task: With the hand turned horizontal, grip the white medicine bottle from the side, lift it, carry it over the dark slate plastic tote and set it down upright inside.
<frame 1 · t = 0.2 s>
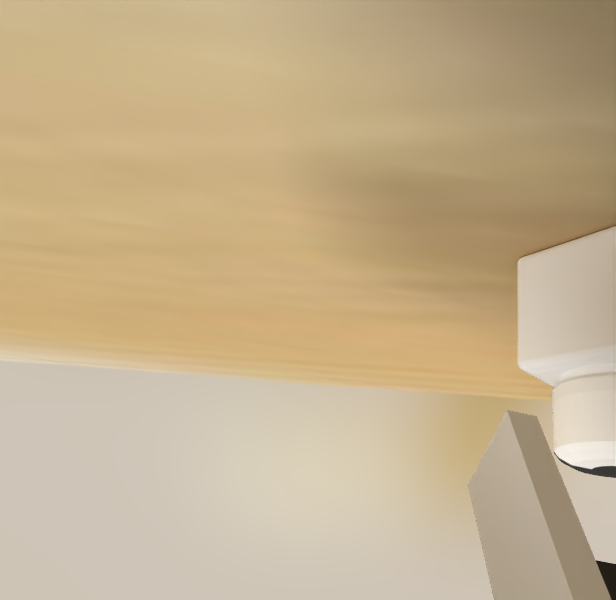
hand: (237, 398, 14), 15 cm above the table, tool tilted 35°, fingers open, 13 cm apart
medicine bottle: (604, 260, 34), on the table
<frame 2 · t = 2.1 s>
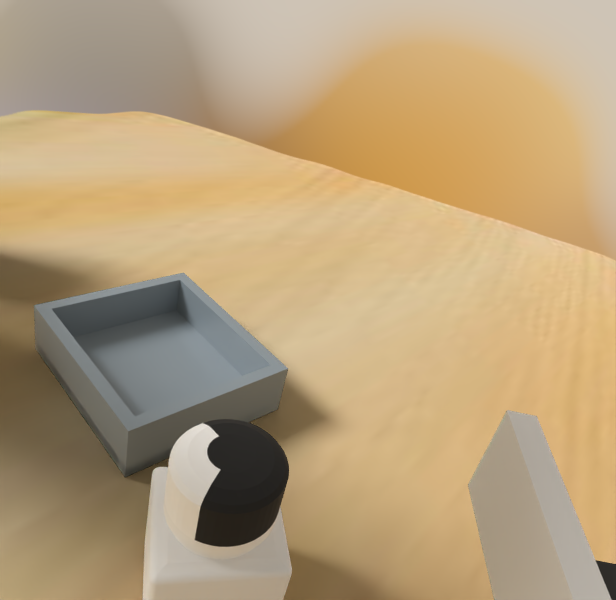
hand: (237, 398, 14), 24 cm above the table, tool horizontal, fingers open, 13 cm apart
medicine bottle: (203, 592, 35), on the table
tote: (156, 379, 50), on the table
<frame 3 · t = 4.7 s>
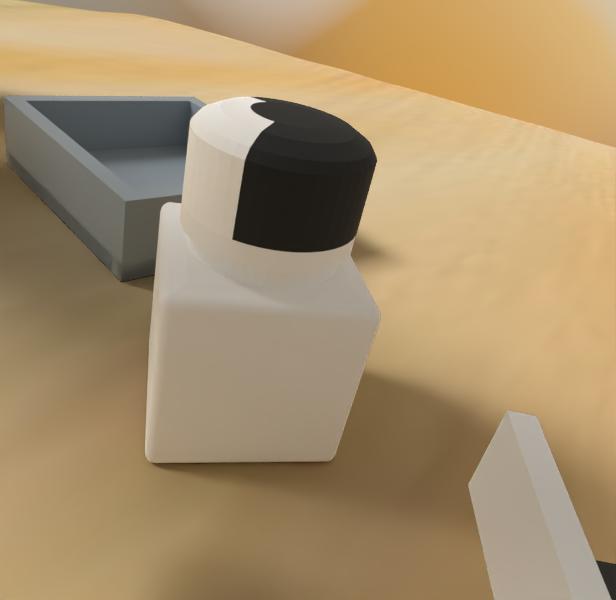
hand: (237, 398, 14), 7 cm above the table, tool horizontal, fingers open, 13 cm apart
medicine bottle: (234, 403, 25), on the table
tote: (162, 201, 39), on the table
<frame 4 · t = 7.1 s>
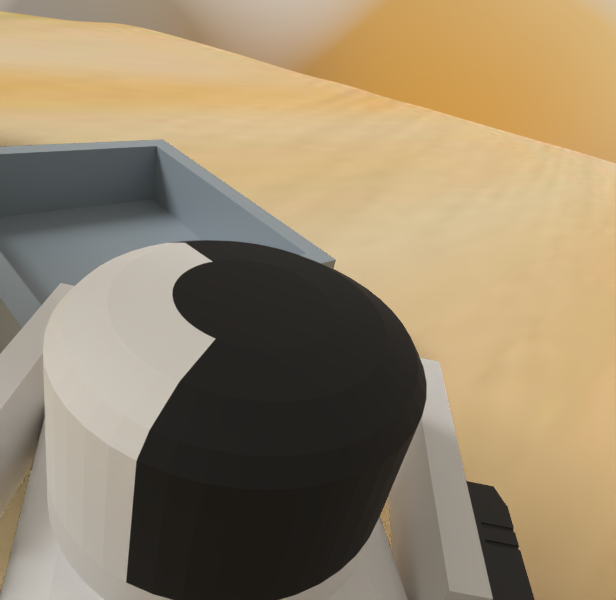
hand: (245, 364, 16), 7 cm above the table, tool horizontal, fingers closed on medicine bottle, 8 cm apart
tote: (113, 286, 30), on the table
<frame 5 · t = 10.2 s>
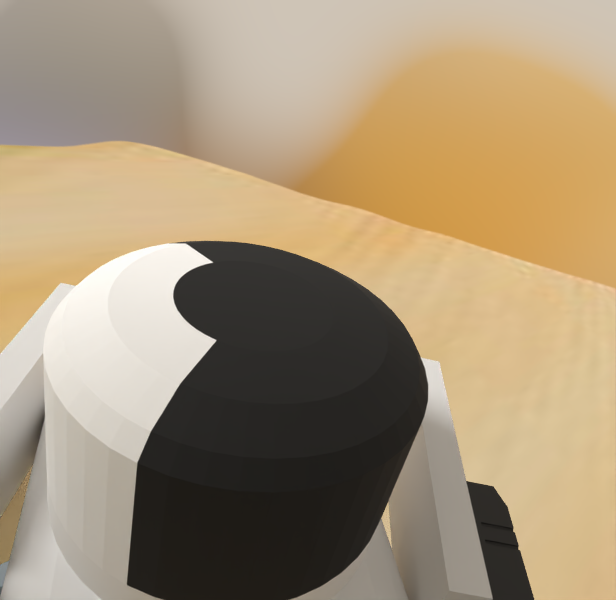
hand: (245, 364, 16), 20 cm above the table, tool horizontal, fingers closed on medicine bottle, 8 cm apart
when the fingers open (10 cm above the table, at t = 13.3 s): medicine bottle drops 2 cm, resting on tote.
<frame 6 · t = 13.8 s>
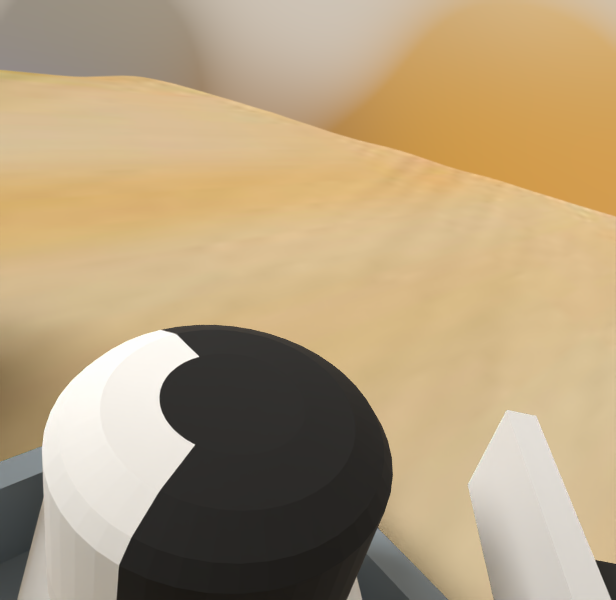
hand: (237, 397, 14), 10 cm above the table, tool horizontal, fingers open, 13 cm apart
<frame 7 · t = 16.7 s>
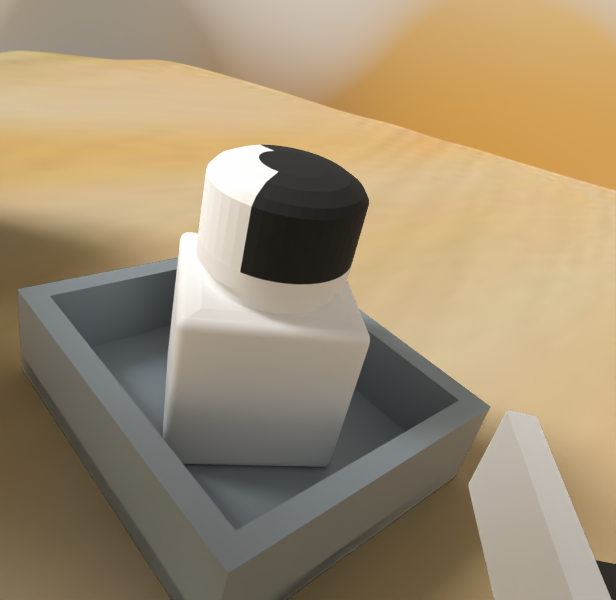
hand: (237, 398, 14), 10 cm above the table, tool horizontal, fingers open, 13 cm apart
medicine bottle: (242, 412, 27), point 1 cm above the table, touching tote
tote: (238, 422, 28), on the table
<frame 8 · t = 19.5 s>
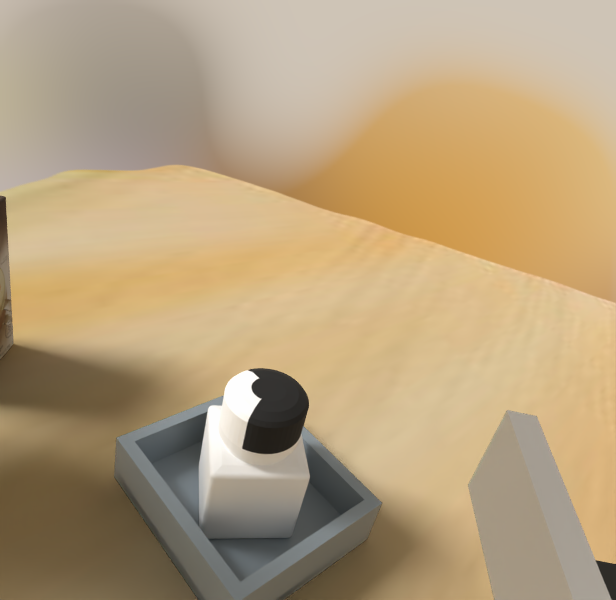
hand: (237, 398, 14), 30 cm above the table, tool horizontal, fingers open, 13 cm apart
medicine bottle: (242, 502, 47), point 1 cm above the table, touching tote
tote: (240, 508, 48), on the table
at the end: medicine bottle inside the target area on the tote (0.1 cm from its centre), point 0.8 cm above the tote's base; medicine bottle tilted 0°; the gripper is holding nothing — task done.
